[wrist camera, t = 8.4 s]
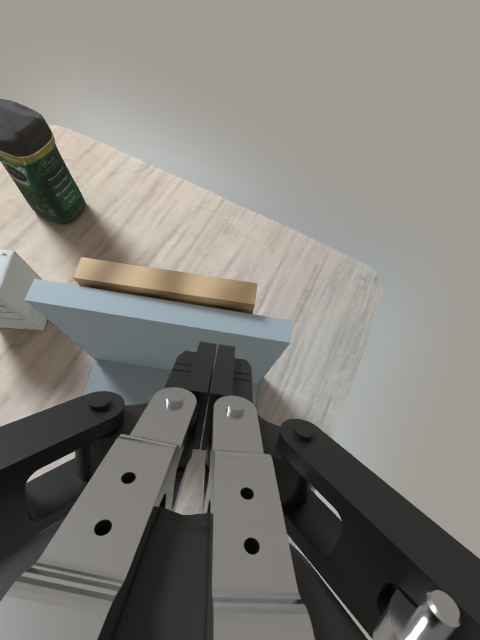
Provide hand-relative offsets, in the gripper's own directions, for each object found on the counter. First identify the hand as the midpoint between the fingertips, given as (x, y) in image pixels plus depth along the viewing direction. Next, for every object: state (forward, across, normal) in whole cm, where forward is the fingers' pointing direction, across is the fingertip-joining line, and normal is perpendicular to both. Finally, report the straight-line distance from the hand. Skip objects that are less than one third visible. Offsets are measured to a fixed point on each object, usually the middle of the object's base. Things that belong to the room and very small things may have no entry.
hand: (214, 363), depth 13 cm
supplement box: (+37, +33, +17) cm, 52 cm away
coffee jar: (+53, +35, +1) cm, 64 cm away
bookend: (+30, +6, +23) cm, 39 cm away
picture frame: (+29, +6, +13) cm, 32 cm away
